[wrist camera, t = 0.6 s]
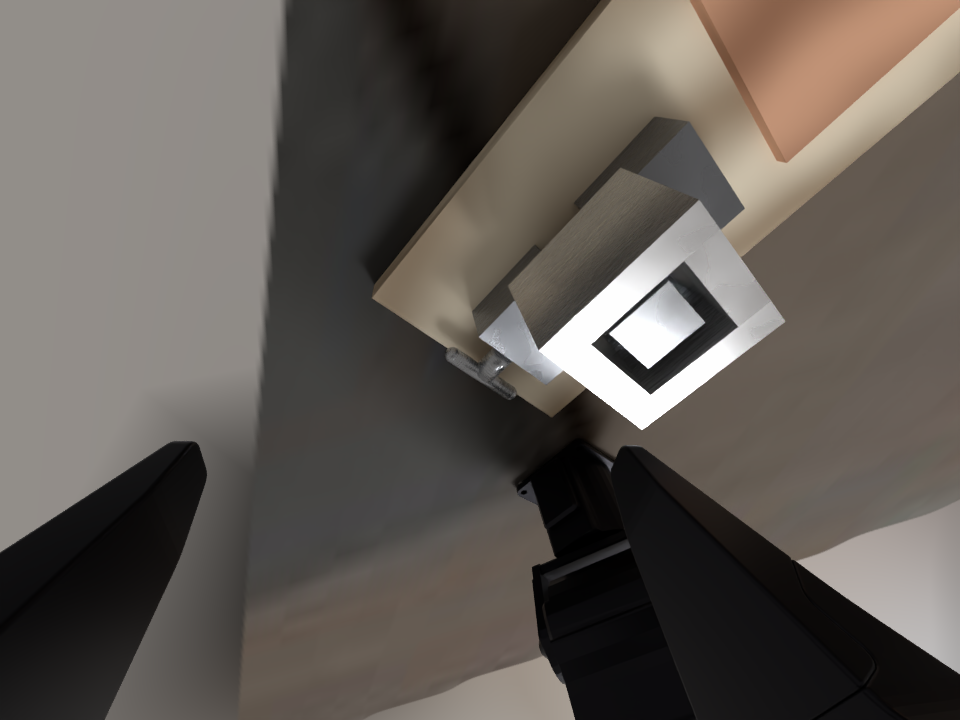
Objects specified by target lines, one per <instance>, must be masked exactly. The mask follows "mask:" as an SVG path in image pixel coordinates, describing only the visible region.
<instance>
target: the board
mask: <svg viewBox="0 0 960 720" xmlns="http://www.w3.org/2000/svg"><path fill="white" fill-rule="evenodd" d="M959 72H960V0H601V1H600V2H599V3H598V5H597V6H596V7H595V8H594V10H593V11H592V12H591V13H590V15H589V16H588V17H587V18H586V20H585V21H584V22H583V23H582V25H581V26H580V27H579V28H578V30H577V31H576V32H575V33H574V35H573V36H572V37H571V38H570V40H569V41H568V42H567V44H566V45H565V46H564V47H563V49H562V50H561V51H560V52H559V54H558V55H557V56H556V57H555V59H554V60H553V61H552V62H551V64H550V65H549V66H548V67H547V69H546V70H545V71H544V72H543V74H542V75H541V76H540V77H539V79H538V80H537V81H536V82H535V84H534V85H533V86H532V87H531V89H530V90H529V91H528V92H527V94H526V95H525V96H524V98H523V99H522V100H521V101H520V103H519V104H518V105H517V106H516V108H515V109H514V110H513V111H512V113H511V114H510V115H509V116H508V118H507V119H506V120H505V121H504V123H503V124H502V125H501V126H500V128H499V129H498V130H497V131H496V133H495V134H494V135H493V136H492V138H491V139H490V140H489V141H488V143H487V144H486V145H485V147H484V148H483V149H482V150H481V152H480V153H479V154H478V155H477V157H476V158H475V159H474V160H473V162H472V163H471V164H470V165H469V167H468V168H467V169H466V170H465V172H464V173H463V174H462V175H461V177H460V178H459V179H458V180H457V182H456V183H455V184H454V185H453V187H452V188H451V189H450V190H449V192H448V193H447V194H446V195H445V197H444V198H443V199H442V201H441V202H440V203H439V204H438V206H437V207H436V208H435V209H434V211H433V212H432V213H431V214H430V216H429V217H428V218H427V219H426V221H425V222H424V223H423V224H422V226H421V227H420V228H419V229H418V231H417V232H416V233H415V234H414V236H413V237H412V238H411V239H410V241H409V242H408V243H407V244H406V246H405V247H404V248H403V250H402V251H401V252H400V253H399V255H398V256H397V257H396V258H395V260H394V261H393V262H392V263H391V265H390V266H389V267H388V268H387V270H386V271H385V272H384V273H383V275H382V276H381V277H380V278H379V280H378V281H377V282H376V283H375V285H374V289H373V295H372V298H373V299H374V300H376V301H377V302H379V303H380V304H382V305H383V306H385V307H386V308H388V309H389V310H391V311H392V312H394V313H395V314H397V315H398V316H400V317H401V318H403V319H404V320H406V321H407V322H409V323H410V324H412V325H413V326H415V327H416V328H418V329H419V330H421V331H422V332H424V333H425V334H427V335H428V336H430V337H431V338H433V339H434V340H436V341H437V342H439V343H440V344H442V345H443V346H445V347H446V348H450V347H455V348H457V349H459V350H460V351H462V352H463V353H465V354H466V355H468V356H469V357H471V358H472V359H474V360H475V361H477V362H479V361H480V360H481V359H482V358H483V357H484V356H485V355H486V354H487V353H488V352H489V351H490V350H491V349H492V348H493V347H492V346H490V345H489V344H488V343H486V342H485V341H483V340H482V339H481V338H479V336H478V332H477V329H476V325H475V321H474V318H473V314H472V311H473V310H474V309H475V308H476V307H477V306H478V304H479V303H480V302H481V301H482V300H483V299H484V298H485V297H486V296H487V295H488V294H489V293H490V292H491V291H492V289H493V288H494V287H495V286H496V285H497V284H498V283H499V282H500V281H501V280H502V279H503V278H504V277H505V276H506V275H507V273H508V272H509V271H510V270H511V269H512V268H513V267H514V266H515V265H516V264H517V263H518V262H519V261H520V260H521V259H522V257H523V256H524V255H525V254H526V253H527V252H528V251H529V250H530V249H531V248H532V247H533V246H534V245H536V246H537V247H538V248H539V249H540V250H541V251H542V250H543V249H544V247H545V246H546V245H547V244H548V243H549V242H550V241H551V240H552V239H553V238H554V237H555V236H556V235H557V234H558V233H559V232H560V231H561V230H562V229H563V228H564V226H565V225H566V224H567V223H568V222H569V221H570V220H571V219H572V218H573V217H574V216H575V215H576V214H577V213H578V212H579V211H580V209H579V208H578V207H577V206H576V205H575V204H574V202H575V201H576V200H577V199H578V198H579V197H580V196H581V195H582V193H583V192H584V191H585V190H586V189H587V188H588V187H589V186H590V185H591V184H592V183H593V182H594V181H595V180H596V178H597V177H598V176H599V175H600V174H601V173H602V172H603V171H604V170H605V169H606V168H607V167H608V166H609V165H610V164H611V162H612V161H613V160H614V159H615V158H616V157H617V156H618V155H619V154H620V153H621V152H622V151H623V150H624V149H625V148H626V146H627V145H628V144H629V143H630V142H631V141H632V140H633V139H634V138H635V137H636V136H637V135H638V134H639V133H640V132H641V130H642V129H643V128H644V127H645V126H646V125H647V124H648V123H649V122H650V121H651V120H652V119H653V118H654V117H662V118H669V119H677V120H684V121H689V122H690V123H691V125H692V126H693V128H694V129H695V131H696V133H697V134H698V136H699V137H700V139H701V140H702V142H703V143H704V145H705V147H706V148H707V150H708V151H709V153H710V154H711V156H712V158H713V159H714V161H715V162H716V164H717V165H718V167H719V168H720V170H721V172H722V173H723V175H724V176H725V178H726V179H727V181H728V183H729V184H730V186H731V187H732V189H733V190H734V192H735V193H736V195H737V197H738V198H739V200H740V201H741V203H742V204H743V206H744V208H745V209H744V210H743V211H742V212H741V213H739V214H738V215H737V216H736V217H735V218H734V219H733V220H732V221H730V222H729V223H728V224H727V225H726V226H725V227H724V228H723V229H721V231H722V232H723V234H724V235H725V237H726V238H727V240H728V241H729V242H730V244H731V245H732V247H733V248H734V249H735V251H736V252H737V254H738V255H739V257H740V258H741V257H742V256H743V255H744V254H745V253H747V252H748V251H749V250H750V249H751V248H752V247H754V246H755V245H756V244H757V243H758V242H760V241H761V240H762V239H763V238H764V237H765V236H767V235H768V234H769V233H770V232H771V231H772V230H774V229H775V228H776V227H777V226H778V225H780V224H781V223H782V222H783V221H784V220H785V219H787V218H788V217H789V216H790V215H791V214H793V213H794V212H795V211H796V210H797V209H798V208H800V207H801V206H802V205H803V204H804V203H806V202H807V201H808V200H809V199H810V198H811V197H813V196H814V195H815V194H816V193H817V192H819V191H820V190H821V189H822V188H823V187H824V186H826V185H827V184H828V183H829V182H830V181H831V180H833V179H834V178H835V177H836V176H837V175H839V174H840V173H841V172H842V171H843V170H844V169H846V168H847V167H848V166H849V165H850V164H852V163H853V162H854V161H855V160H856V159H857V158H859V157H860V156H861V155H862V154H863V153H865V152H866V151H867V150H868V149H869V148H870V147H872V146H873V145H874V144H875V143H876V142H878V141H879V140H880V139H881V138H882V137H883V136H885V135H886V134H887V133H888V132H889V131H891V130H892V129H893V128H894V127H895V126H896V125H898V124H899V123H900V122H901V121H902V120H903V119H905V118H906V117H907V116H908V115H909V114H911V113H912V112H913V111H914V110H915V109H916V108H918V107H919V106H920V105H921V104H922V103H924V102H925V101H926V100H927V99H928V98H929V97H931V96H932V95H933V94H934V93H935V92H937V91H938V90H939V89H940V88H941V87H942V86H944V85H945V84H946V83H947V82H948V81H950V80H951V79H952V78H953V77H954V76H955V75H957V74H958V73H959ZM498 376H499V377H500V378H502V379H503V380H505V381H506V382H508V383H509V384H511V385H512V386H514V387H515V388H516V390H517V395H519V396H520V397H522V398H523V399H525V400H526V401H528V402H529V403H531V404H532V405H534V406H535V407H537V408H538V409H540V410H541V411H543V412H544V413H546V414H547V415H549V416H550V417H553V416H554V415H555V414H557V413H558V412H559V411H560V410H561V409H562V408H564V407H565V406H566V405H567V404H568V403H569V402H571V401H572V400H573V399H574V398H575V397H577V396H578V395H579V394H580V393H581V392H582V391H584V390H585V389H586V388H587V387H586V386H584V385H583V384H582V383H580V382H579V381H578V380H577V379H575V378H574V377H573V376H571V375H570V374H569V373H567V372H566V371H565V370H563V371H562V372H561V373H560V374H558V375H557V376H556V377H555V378H554V379H553V380H552V381H551V382H550V383H548V384H547V385H545V384H544V383H542V382H541V381H539V380H538V379H537V378H535V377H534V376H532V375H531V374H530V373H528V372H527V371H525V370H524V369H523V368H521V367H520V366H518V365H517V364H516V363H514V362H512V363H511V364H510V365H509V366H508V367H507V368H506V369H505V370H504V371H503V372H501V373H500V374H499V375H498Z"/></svg>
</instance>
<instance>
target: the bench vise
mask: <svg viewBox="0 0 960 720" xmlns="http://www.w3.org/2000/svg"><path fill="white" fill-rule="evenodd" d="M620 168H623V169H625V170H627V171H630V172H632V173H635V174H637V175H640V176H642V177H645V178H647V179H650V180H652V181H654V182H657V183H659V184H662V185H664V186H667V187H669V188H672V189H674V190H677V191H679V192H681V193H684V194H686V195H689V196H691V197H694V198H696V199H699V200H700V201H701V203H702V204H703V206H704V207H705V208H706V210H707V211H708V213H709V214H710V216H711V217H712V218H713V220H714V221H715V223H716V224H717V225H718V227H719V228H720V230H721V229H723V228H724V227H725V226H726V225H727V224H728V223H729V222H730V221H732V220H733V219H734V218H735V217H736V216H737V215H738V214H739V213H741V212H742V211H743V210H744V209H745V208H744V206H743V204H742V203H741V201H740V200H739V198H738V197H737V195H736V193H735V192H734V190H733V189H732V187H731V186H730V184H729V183H728V181H727V179H726V178H725V176H724V175H723V173H722V172H721V170H720V168H719V167H718V165H717V164H716V162H715V161H714V159H713V158H712V156H711V154H710V153H709V151H708V150H707V148H706V147H705V145H704V143H703V142H702V140H701V139H700V137H699V136H698V134H697V133H696V131H695V129H694V128H693V126H692V125H691V123H690V122H689V121H684V120H677V119H669V118H662V117H654V118H653V119H652V120H651V121H650V122H649V123H648V124H647V125H646V126H645V127H644V128H643V129H642V130H641V132H640V133H639V134H638V135H637V136H636V137H635V138H634V139H633V140H632V141H631V142H630V143H629V144H628V145H627V146H626V148H625V149H624V150H623V151H622V152H621V153H620V154H619V155H618V156H617V157H616V158H615V159H614V160H613V161H612V162H611V164H610V165H609V166H608V167H607V168H606V169H605V170H604V171H603V172H602V173H601V174H600V175H599V176H598V177H597V178H596V180H595V181H594V182H593V183H592V184H591V185H590V186H589V187H588V188H587V189H586V190H585V191H584V192H583V193H582V195H581V196H580V197H579V198H578V199H577V200H576V201H575V202H574V204H575V205H576V206H577V207H578V208H579V209H580V210H581V209H582V208H583V206H584V205H585V204H586V203H587V202H588V201H589V200H590V199H591V198H592V197H593V196H594V195H595V194H596V193H597V192H598V191H599V190H600V189H601V188H602V187H603V185H604V184H605V183H606V182H607V181H608V180H609V179H610V178H611V177H612V176H613V175H614V174H615V173H616V172H617V171H618V170H619V169H620ZM540 252H541V250H540V249H539V248H538V247H537V246H536V245H534V246H533V247H532V248H531V249H530V250H529V251H528V252H527V253H526V254H525V255H524V256H523V257H522V259H521V260H520V261H519V262H518V263H517V264H516V265H515V266H514V267H513V268H512V269H511V270H510V271H509V272H508V273H507V275H506V276H505V277H504V278H503V279H502V280H501V281H500V282H499V283H498V284H497V285H496V286H495V287H494V288H493V289H492V291H491V292H490V293H489V294H488V295H487V296H486V297H485V298H484V299H483V300H482V301H481V302H480V303H479V304H478V306H477V307H476V308H475V309H474V310H473V311H472V314H473V318H474V321H475V325H476V329H477V332H478V336H479V338H481V339H482V340H483V341H485V342H486V343H488V344H489V345H490V346H492V347H493V348H492V349H491V350H490V351H489V352H488V353H487V354H486V355H485V356H484V357H483V358H482V359H481V360H480V361H479V362H477V361H475V360H474V359H472V358H471V357H469V356H468V355H466V354H465V353H463V352H462V351H460V350H459V349H457V348H455V347H450V348H448V349H447V350H446V351H445V359H446V360H447V361H448V362H449V363H451V364H452V365H454V366H455V367H457V368H459V369H460V370H462V371H463V372H465V373H466V374H468V375H469V376H471V377H472V378H474V379H476V380H477V381H479V382H480V383H482V384H483V385H485V386H486V387H488V388H490V389H491V390H493V391H494V392H496V393H497V394H499V395H500V396H502V397H504V398H505V399H507V400H512V399H514V398H515V397H516V395H517V390H516V388H515V387H514V386H512V385H511V384H509V383H508V382H506V381H505V380H503V379H502V378H500V377H499V376H498V375H499V374H500V373H501V372H503V371H504V370H505V369H506V368H507V367H508V366H509V365H510V364H511V363H512V362H514V363H516V364H517V365H518V366H520V367H521V368H523V369H524V370H525V371H527V372H528V373H530V374H531V375H532V376H534V377H535V378H537V379H538V380H539V381H541V382H542V383H544V384H545V385H547V384H548V383H550V382H551V381H552V380H553V379H554V378H555V377H556V376H557V375H558V374H560V373H561V372H562V371H563V369H562V368H561V367H560V366H558V365H557V364H556V363H554V362H553V361H552V360H550V359H549V358H548V357H546V356H545V355H544V354H543V353H541V352H540V351H539V350H538V348H537V346H536V344H535V342H534V340H533V338H532V335H531V333H530V331H529V329H528V327H527V325H526V323H525V321H524V319H523V317H522V315H521V312H520V310H519V308H518V306H517V304H516V302H515V300H514V298H513V296H512V294H511V291H510V289H509V287H508V285H509V284H510V283H511V282H512V281H513V280H514V279H515V278H516V277H517V276H518V275H519V274H520V273H521V272H522V271H523V270H524V269H525V267H526V266H527V265H528V264H529V263H530V262H531V261H532V260H533V259H534V258H535V257H536V256H537V255H538V254H539V253H540ZM704 323H705V322H704V320H703V319H702V318H701V317H700V316H699V315H698V314H697V312H696V311H695V310H694V309H693V308H692V307H691V306H690V304H689V303H688V302H687V301H686V300H685V299H684V298H683V297H682V295H681V294H680V293H679V292H678V291H677V290H676V289H675V287H674V286H673V285H672V284H671V283H670V282H669V281H668V280H667V279H666V278H664V279H663V280H662V281H661V282H660V283H659V284H658V285H656V286H655V287H654V288H653V289H652V290H651V291H650V292H649V293H647V294H646V295H645V296H644V297H643V298H642V299H641V300H640V301H639V302H637V303H636V304H635V305H634V306H633V307H632V308H631V309H630V310H628V311H627V312H626V313H625V314H624V315H623V316H622V317H621V318H619V319H618V320H617V321H616V322H615V323H614V324H613V325H612V326H610V327H609V328H608V329H607V331H608V332H609V334H610V335H612V336H613V337H614V338H615V339H616V340H617V341H618V342H619V343H620V344H622V345H623V346H624V347H625V348H626V349H627V350H628V351H629V352H630V353H631V354H633V355H634V356H635V357H636V358H637V359H638V360H639V361H640V362H641V363H643V364H644V365H645V366H646V367H647V368H648V369H649V368H650V367H651V366H652V365H654V364H655V363H656V362H657V361H659V360H660V359H661V358H662V357H664V356H665V355H666V354H667V353H668V352H670V351H671V350H672V349H673V348H675V347H676V346H677V345H678V344H680V343H681V342H682V341H683V340H684V339H686V338H687V337H688V336H689V335H691V334H692V333H693V332H694V331H695V330H697V329H698V328H699V327H700V326H702V325H703V324H704Z"/></svg>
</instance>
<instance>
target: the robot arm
mask: <svg viewBox="0 0 960 720" xmlns="http://www.w3.org/2000/svg"><path fill="white" fill-rule="evenodd" d="M206 478H207V471H206V467H205V463H204V461H203V457H202V454H201V451H200V447H199V445H198V444H197V443H196V442H192V441H174V442H170V443H168V444H166V445H165V446H163V447H162V448H160V449H159V450H157V451H156V452H154V453H153V454H151V455H150V456H148V457H146V458H145V459H143V460H142V461H140V462H139V463H137V464H136V465H134V466H133V467H131V468H129V469H128V470H126V471H125V472H123V473H122V474H120V475H119V476H117V477H116V478H114V479H113V480H111V481H109V482H108V483H106V484H105V485H103V486H102V487H100V488H99V489H97V490H96V491H94V492H93V493H91V494H89V495H88V496H87V497H85V498H84V499H82V500H80V501H79V502H77V503H76V504H74V505H73V506H71V507H69V508H68V509H67V510H65V511H63V512H62V513H60V514H59V515H57V516H56V517H54V518H53V519H51V520H50V521H48V522H47V523H45V524H43V525H42V526H40V527H39V528H37V529H36V530H34V531H33V532H31V533H29V534H28V535H26V536H25V537H23V538H22V539H20V540H19V541H17V542H16V543H14V544H12V545H11V546H9V547H8V548H6V549H5V550H3V551H2V552H0V720H105V718H106V716H107V713H108V711H109V709H110V707H111V705H112V703H113V701H114V699H115V696H116V694H117V692H118V690H119V688H120V686H121V684H122V681H123V679H124V677H125V675H126V673H127V671H128V669H129V666H130V664H131V662H132V660H133V657H134V656H135V654H136V651H137V649H138V647H139V645H140V643H141V641H142V638H143V636H144V634H145V632H146V630H147V628H148V626H149V624H150V621H151V619H152V617H153V615H154V613H155V611H156V609H157V606H158V604H159V602H160V600H161V598H162V595H163V593H164V592H165V589H166V587H167V585H168V583H169V581H170V579H171V576H172V574H173V572H174V570H175V568H176V565H177V563H178V561H179V559H180V556H181V553H182V550H183V548H184V545H185V542H186V539H187V536H188V533H189V530H190V527H191V524H192V521H193V519H194V516H195V513H196V510H197V507H198V504H199V501H200V498H201V495H202V492H203V489H204V486H205V483H206ZM517 493H518V495H519V496H520V497H522V498H524V499H526V500H528V501H530V502H532V503H534V504H536V505H538V507H539V510H540V514H541V517H542V520H543V524H544V527H545V528H546V529H547V533H548V536H549V539H550V543H551V546H552V549H553V552H554V556H555V557H557V558H556V559H553V560H551V561H549V562H546V563H544V564H542V565H540V564H538V565H535V566H533V567H532V572H533V580H532V583H533V591H534V600H535V609H536V618H537V627H538V636H539V648H540V651H541V653H542V655H543V656H544V657H546V658H547V659H548V660H549V662H550V664H551V667H552V668H553V671H554V672H555V674H556V676H557V677H558V679H559V680H560V681H561V682H562V683H563V684H566V688H567V691H568V695H569V698H570V702H571V706H572V709H573V713H574V717H575V720H960V674H958V673H957V672H955V671H954V670H952V669H951V668H949V667H948V666H946V665H945V664H943V663H942V662H940V661H939V660H937V659H936V658H934V657H933V656H932V655H930V654H929V653H927V652H926V651H924V650H923V649H921V648H920V647H918V646H916V645H915V644H914V643H912V642H911V641H909V640H907V639H906V638H904V637H903V636H902V635H900V634H898V633H897V632H896V631H894V630H893V629H891V628H890V627H888V626H887V625H885V624H883V623H882V622H880V621H879V620H878V619H876V618H875V617H873V616H872V615H870V614H869V613H867V612H866V611H865V610H863V609H862V608H860V607H859V606H857V605H856V604H854V603H853V602H851V601H850V600H848V599H847V598H845V597H844V596H843V595H841V594H840V593H839V592H837V591H836V590H834V589H833V588H832V587H830V586H829V585H827V584H826V583H825V582H823V581H822V580H820V579H819V578H818V577H816V576H815V575H814V574H812V573H811V572H809V571H808V570H807V569H805V568H804V567H803V566H801V565H800V564H799V563H797V562H796V561H795V560H791V558H790V557H789V556H788V555H787V554H785V553H784V552H783V551H781V550H780V549H779V548H777V547H776V546H774V545H773V544H772V543H770V542H769V541H768V540H766V539H765V538H764V537H762V536H761V535H760V534H758V533H757V532H756V531H754V530H753V529H752V528H750V527H749V526H748V525H746V524H745V523H744V522H742V521H741V520H739V519H738V518H737V517H735V516H734V515H733V514H731V513H730V512H729V511H727V510H726V509H725V508H723V507H722V506H721V505H719V504H718V503H717V502H715V501H714V500H713V499H711V498H710V497H709V496H707V495H706V494H704V493H703V492H702V491H700V490H699V489H698V488H696V487H695V486H694V485H692V484H691V483H690V482H688V481H687V480H686V479H684V478H683V477H682V476H680V475H679V474H678V473H676V472H675V471H674V470H672V469H671V468H669V467H668V466H667V465H665V464H664V463H663V462H661V461H660V460H659V459H657V458H656V457H655V456H653V455H652V454H651V453H649V452H648V451H647V450H645V449H644V448H642V447H641V446H637V445H625V446H622V447H621V448H620V450H619V452H618V454H617V457H616V459H615V461H613V460H611V459H610V458H608V457H607V456H605V455H604V454H602V453H601V452H599V451H598V450H596V449H594V448H593V447H591V446H590V445H588V444H587V443H585V442H584V441H582V440H576V441H574V442H572V443H571V444H570V445H569V446H567V447H566V448H565V449H564V450H562V451H561V452H560V453H559V454H557V455H556V456H555V457H554V458H552V459H551V460H550V461H549V462H547V463H546V464H545V465H544V466H542V467H541V468H540V469H539V470H537V471H536V472H535V473H534V474H532V475H531V476H530V477H529V478H527V479H526V480H525V481H524V482H522V483H521V484H520V485H519V486H518V487H517Z"/></svg>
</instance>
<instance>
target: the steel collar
mask: <svg viewBox="0 0 960 720" xmlns="http://www.w3.org/2000/svg"><path fill="white" fill-rule="evenodd" d="M664 278H666V279H667V280H668V281H669V282H670V283H671V284H672V285H673V286H674V287H675V289H676V290H677V291H678V292H679V293H680V294H681V295H682V297H683V298H684V299H685V300H686V301H687V302H688V303H689V304H690V306H691V307H692V308H693V309H694V310H695V311H696V312H697V314H698V315H699V316H700V317H701V318H702V319H703V320H704V322H705V323H704V324H703V325H702V326H700V327H699V328H698V329H697V330H695V331H694V332H693V333H692V334H691V335H689V336H688V337H687V338H686V339H684V340H683V341H682V342H681V343H680V344H678V345H677V346H676V347H675V348H673V349H672V350H671V351H670V352H668V353H667V354H666V355H665V356H664V357H662V358H661V359H660V360H659V361H657V362H656V363H655V364H654V365H652V366H651V367H650V368H649V369H648V368H647V367H646V366H645V365H644V364H643V363H641V362H640V361H639V360H638V359H637V358H636V357H635V356H634V355H633V354H631V353H630V352H629V351H628V350H627V349H626V348H625V347H624V346H623V345H622V344H620V343H619V342H618V341H617V340H616V339H615V338H614V337H613V336H612V335H610V334H609V332H608V331H607V329H608V328H609V327H610V326H612V325H613V324H614V323H615V322H616V321H617V320H618V319H619V318H621V317H622V316H623V315H624V314H625V313H626V312H627V311H628V310H630V309H631V308H632V307H633V306H634V305H635V304H636V303H637V302H639V301H640V300H641V299H642V298H643V297H644V296H645V295H646V294H647V293H649V292H650V291H651V290H652V289H653V288H654V287H655V286H656V285H658V284H659V283H660V282H661V281H662V280H663V279H664ZM508 287H509V289H510V291H511V294H512V296H513V298H514V300H515V302H516V304H517V306H518V308H519V310H520V312H521V315H522V317H523V319H524V321H525V323H526V325H527V327H528V329H529V331H530V333H531V335H532V338H533V340H534V342H535V344H536V346H537V348H538V350H539V351H540V352H541V353H543V354H544V355H545V356H546V357H548V358H549V359H550V360H552V361H553V362H554V363H556V364H557V365H558V366H560V367H561V368H562V369H563V370H565V371H566V372H567V373H569V374H570V375H571V376H573V377H574V378H575V379H577V380H578V381H579V382H580V383H582V384H583V385H584V386H586V387H587V388H588V389H590V390H591V391H592V392H594V393H595V394H596V395H597V396H599V397H600V398H601V399H603V400H604V401H605V402H607V403H608V404H609V405H611V406H612V407H613V408H615V409H616V410H617V411H618V412H620V413H621V414H622V415H624V416H625V417H626V418H628V419H629V420H630V421H632V422H633V423H634V424H635V425H637V426H638V427H639V428H641V429H644V428H645V427H646V426H648V425H649V424H650V423H652V422H653V421H654V420H656V419H657V418H658V417H659V416H661V415H662V414H663V413H665V412H666V411H667V410H669V409H670V408H671V407H673V406H674V405H675V404H677V403H678V402H679V401H681V400H682V399H683V398H685V397H686V396H687V395H689V394H690V393H691V392H693V391H694V390H695V389H697V388H698V387H699V386H701V385H702V384H703V383H705V382H706V381H707V380H708V379H710V378H711V377H712V376H714V375H715V374H716V373H718V372H719V371H720V370H722V369H723V368H724V367H726V366H727V365H728V364H730V363H731V362H732V361H734V360H735V359H736V358H738V357H739V356H740V355H742V354H743V353H744V352H746V351H747V350H748V349H750V348H751V347H752V346H754V345H755V344H756V343H757V342H759V341H760V340H761V339H763V338H764V337H765V336H767V335H768V334H769V333H771V332H772V331H773V330H775V329H776V328H777V327H779V326H780V325H781V324H783V323H784V322H785V320H784V319H783V317H782V316H781V314H780V313H779V312H778V310H777V309H776V307H775V306H774V305H773V303H772V302H771V300H770V299H769V298H768V296H767V295H766V293H765V292H764V290H763V289H762V288H761V286H760V285H759V283H758V282H757V281H756V279H755V278H754V276H753V275H752V273H751V272H750V271H749V269H748V268H747V266H746V265H745V264H744V262H743V261H742V259H741V258H740V257H739V255H738V254H737V252H736V251H735V249H734V248H733V247H732V245H731V244H730V242H729V241H728V240H727V238H726V237H725V235H724V234H723V232H722V231H721V230H720V228H719V227H718V225H717V224H716V223H715V221H714V220H713V218H712V217H711V216H710V214H709V213H708V211H707V210H706V208H705V207H704V206H703V204H702V203H701V201H700V200H699V199H696V198H694V197H691V196H689V195H686V194H684V193H681V192H679V191H677V190H674V189H672V188H669V187H667V186H664V185H662V184H659V183H657V182H654V181H652V180H650V179H647V178H645V177H642V176H640V175H637V174H635V173H632V172H630V171H627V170H625V169H623V168H620V169H619V170H618V171H617V172H616V173H615V174H614V175H613V176H612V177H611V178H610V179H609V180H608V181H607V182H606V183H605V184H604V185H603V187H602V188H601V189H600V190H599V191H598V192H597V193H596V194H595V195H594V196H593V197H592V198H591V199H590V200H589V201H588V202H587V203H586V204H585V205H584V206H583V208H582V209H581V210H580V211H579V212H578V213H577V214H576V215H575V216H574V217H573V218H572V219H571V220H570V221H569V222H568V223H567V224H566V225H565V226H564V228H563V229H562V230H561V231H560V232H559V233H558V234H557V235H556V236H555V237H554V238H553V239H552V240H551V241H550V242H549V243H548V244H547V245H546V246H545V247H544V249H543V250H542V251H541V252H540V253H539V254H538V255H537V256H536V257H535V258H534V259H533V260H532V261H531V262H530V263H529V264H528V265H527V266H526V267H525V269H524V270H523V271H522V272H521V273H520V274H519V275H518V276H517V277H516V278H515V279H514V280H513V281H512V282H511V283H510V284H509V285H508Z"/></svg>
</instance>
